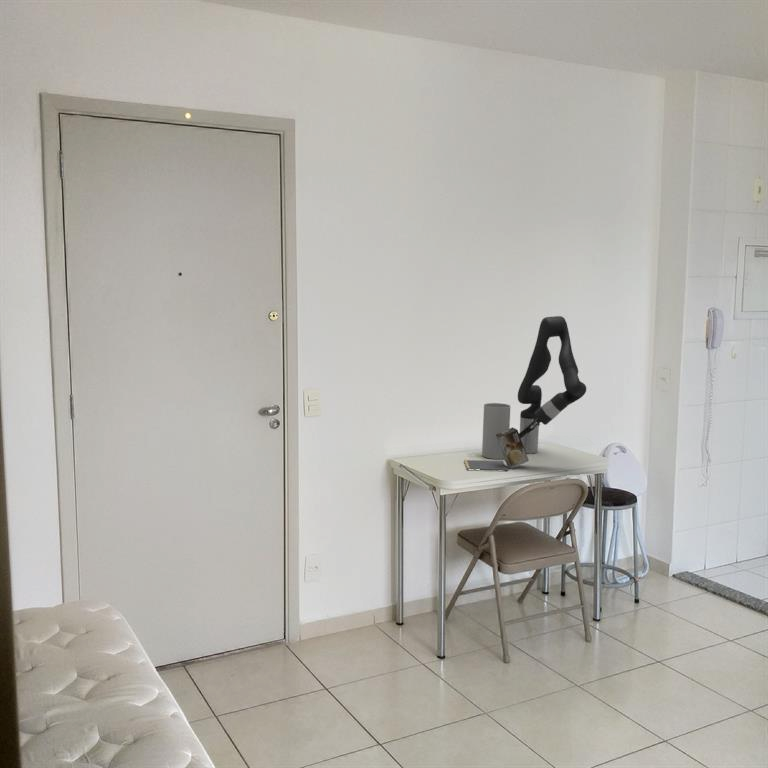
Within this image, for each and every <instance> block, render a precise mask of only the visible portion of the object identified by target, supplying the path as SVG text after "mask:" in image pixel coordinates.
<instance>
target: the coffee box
mask: <svg viewBox="0 0 768 768" xmlns="http://www.w3.org/2000/svg"><path fill="white" fill-rule="evenodd" d="M519 433H520V432H519V431H518V429H517V428H515V427H509V429H508V430H505V431H503V432H501V433H498V434H496V437H497V440H498V443H499V445H500V448H501V451H502V454H503V456H504V461H505V462H504V463H505V465H506V467H507V468H510V469H511V470H512V469H515V468H517V467H519V466H521V465H523V464H526V463H528V462H530V459H529V457H528V453H526V451H525V449H524V446H523V443H522V441H521V438H520V435H519Z"/></svg>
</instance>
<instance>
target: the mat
mask: <svg viewBox="0 0 768 768" xmlns="http://www.w3.org/2000/svg"><path fill="white" fill-rule="evenodd" d="M464 462H465V463H464ZM463 463H464V465H465V464H466V465H465V468H466V467H467V468H466V470H467V469H480V470H507V471H506V472H508V471H509V470H508V466H507V465H506V463H505V462H504V461H503V460H478V459H477V460H474V459H472V460H470V459H464V460H463Z"/></svg>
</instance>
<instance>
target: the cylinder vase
mask: <svg viewBox="0 0 768 768" xmlns="http://www.w3.org/2000/svg"><path fill="white" fill-rule="evenodd" d="M482 421H483V423H482V425H483V426H482V443H481V444H482V445H481V455H482V457H484V458H485V457H486V459H489V458H490V459H489V460H503V459H504V456H503V454H502V451H501V448H500V445H499V443H498V440H497V437H496V434H498V433H501V432H503V431H505V430H508V429H510V428H511V426H510V425H511V424H510V423H511V405H510V404H506V403H498V402H495V403H494V402H491V403H490V402H489V403H488V402H487V403H484V404H483V420H482ZM504 460H505V459H504Z"/></svg>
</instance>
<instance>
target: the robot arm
mask: <svg viewBox="0 0 768 768" xmlns="http://www.w3.org/2000/svg"><path fill="white" fill-rule="evenodd" d="M569 332H570V331H569V326H568V323H567V321H566V318H565V317H563V316H562V315H561V316H560V315H556V316H547V317H544V318H542V320H541V322H540V325H539V328H538V334H537V337H536V342H535V345H534V349H533V350H532V353H531V356H530V360H529V361H528V362H529V363H528V367H527V369H526V373H525V375H524V378H523V379H522V381H521V384H520V386H519V389H518V391H517V400H518V401H517V402H519V403H520V404H522V405H530V406H528V407H527V408H525V409H523V410H521V411H520V416H519V421H520V422H519V432H518V433H519V435H520V438H521V441H522V443H523V446H524V449H525V451H526V454H537V453H538V450H539V448H538V447H539V431H540V426H541V424H542V425H546V426H547V425H548V424H549V423H550V422H551V421H553V420H554V419H555V418H556V417H557V416H559V414H560V413H561V412H562V411H563V410H565V409H566V408H567V407H568V406H569V405H571V404H573V403H574V402H576V401H578V400H580V399H582V397H583V396H585V394H586V392H587V386H586V384H585V383H584V382H582V381H581V380H580V378H579V376H578V375H579V368H578V366H577V363H576V360H575V357H574V356H575V355H574V353H573V348H572V344H571V338H570V333H569ZM554 337H555V338H556V337H559V339H560V351H559V354H558V364H559V368H560V371H561V373H562V376H563V383H564V384H563V385H564V388H565V391H563V392H558V393H556V394H555V395H554V396H552V398H551V399H550V400H548V401H546V402H545V403H544V404H543V405H542V397H543V393H542V391H543V390H542V388H541V386H540V385H537V384H535V383H536V382H537V381H538V380H540V379H541V378H542V377H543V376H544V375H545V374H546V373H547V372H548V370H549V367H550V364H551V362H552V355H551V352H550V349H549V348H548V341H549V340H550V338H554ZM534 384H535V385H534ZM540 423H541V424H540Z"/></svg>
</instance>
